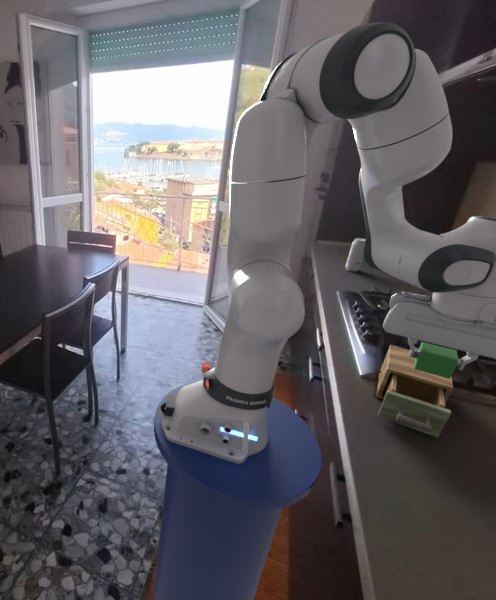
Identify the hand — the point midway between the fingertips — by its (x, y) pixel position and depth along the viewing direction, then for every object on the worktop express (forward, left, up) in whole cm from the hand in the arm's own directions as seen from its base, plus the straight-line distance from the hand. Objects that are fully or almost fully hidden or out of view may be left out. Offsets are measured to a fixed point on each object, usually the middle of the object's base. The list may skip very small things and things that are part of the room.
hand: (434, 362), depth 74 cm
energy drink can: (+27, +110, -17) cm, 114 cm away
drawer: (0, +1, -15) cm, 15 cm away
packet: (0, 0, -2) cm, 2 cm away
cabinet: (+5, +12, -16) cm, 21 cm away
